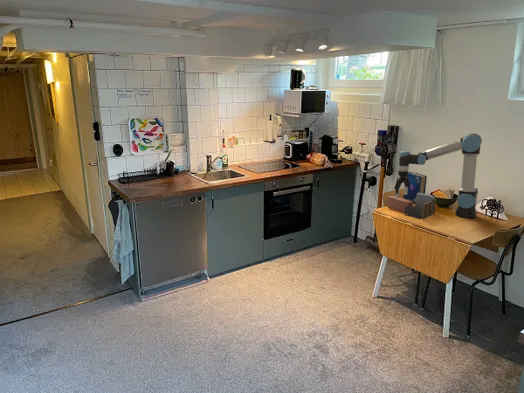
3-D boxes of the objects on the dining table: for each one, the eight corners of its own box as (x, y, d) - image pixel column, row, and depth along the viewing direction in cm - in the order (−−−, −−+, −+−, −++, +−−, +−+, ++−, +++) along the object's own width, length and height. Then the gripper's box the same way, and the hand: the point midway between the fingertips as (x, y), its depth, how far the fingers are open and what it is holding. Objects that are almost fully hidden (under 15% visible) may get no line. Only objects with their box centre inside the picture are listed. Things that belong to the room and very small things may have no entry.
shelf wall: (432, 213, 315) (434, 199, 312) (434, 213, 314) (436, 199, 311) (421, 218, 302) (423, 203, 299) (423, 219, 301) (424, 204, 298)
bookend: (405, 212, 317) (405, 204, 315) (424, 217, 306) (425, 208, 304) (400, 214, 313) (401, 205, 311) (420, 219, 301) (421, 210, 299)
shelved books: (418, 209, 324) (420, 192, 320) (432, 213, 316) (435, 195, 311) (414, 211, 320) (416, 193, 316) (429, 214, 312) (431, 196, 308)
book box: (391, 205, 335) (392, 195, 332) (411, 212, 319) (413, 201, 316) (387, 207, 332) (388, 196, 329) (407, 213, 316) (408, 202, 313)
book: (401, 198, 357) (404, 171, 350) (408, 197, 359) (411, 170, 352) (417, 204, 337) (420, 176, 331) (424, 204, 339) (427, 175, 333)
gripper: (406, 167, 327) (404, 192, 333) (391, 172, 311) (389, 198, 316) (415, 168, 322) (412, 194, 327) (399, 173, 305) (397, 199, 311)
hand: (401, 196), depth 322 cm, fingers open, 13 cm apart
